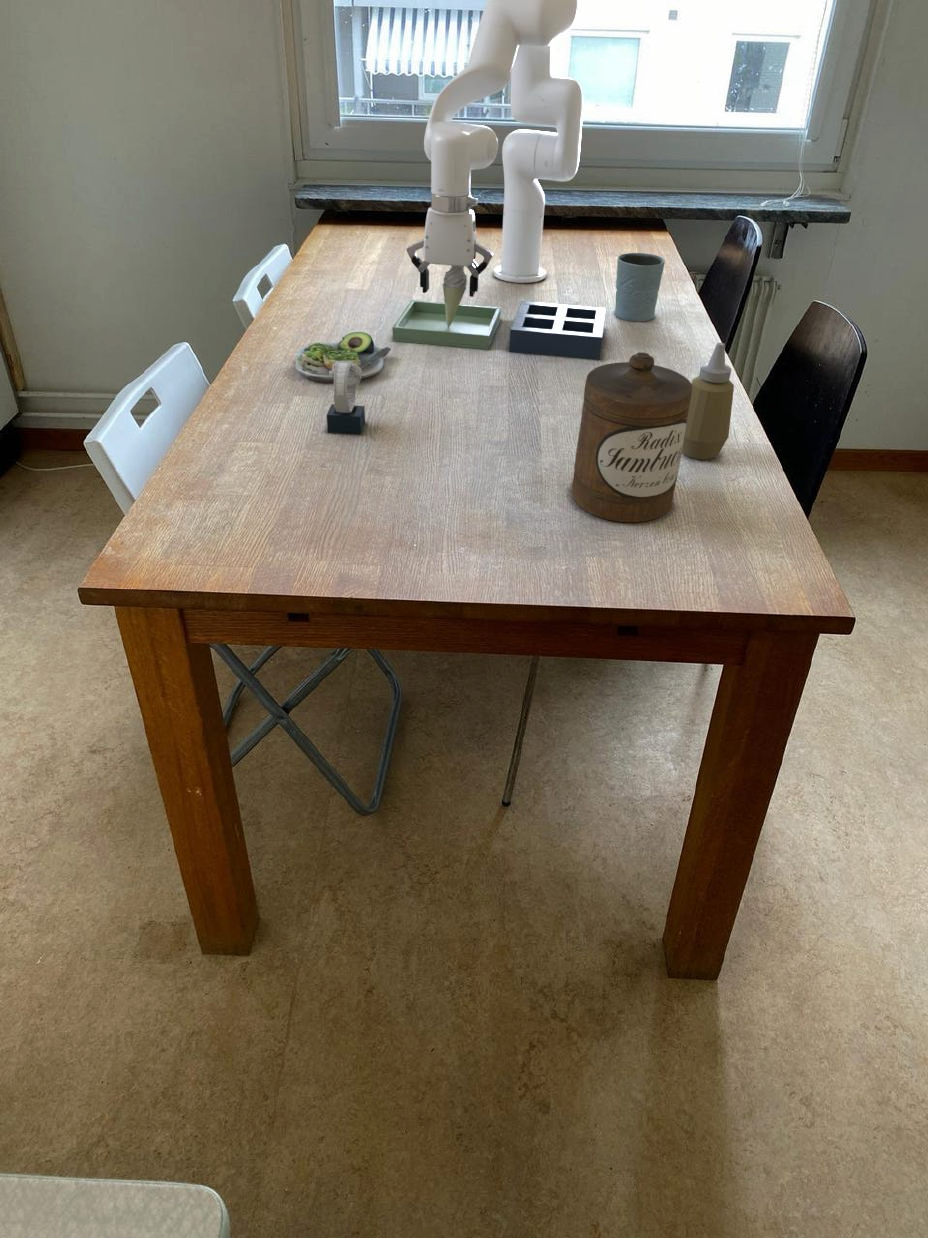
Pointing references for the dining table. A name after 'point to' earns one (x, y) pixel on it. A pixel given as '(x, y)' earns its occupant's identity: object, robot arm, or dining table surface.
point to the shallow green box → (431, 326)
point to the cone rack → (558, 330)
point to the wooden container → (630, 439)
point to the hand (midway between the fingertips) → (448, 292)
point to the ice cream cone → (453, 290)
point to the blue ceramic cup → (637, 285)
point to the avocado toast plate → (340, 357)
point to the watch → (345, 400)
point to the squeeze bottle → (709, 408)
